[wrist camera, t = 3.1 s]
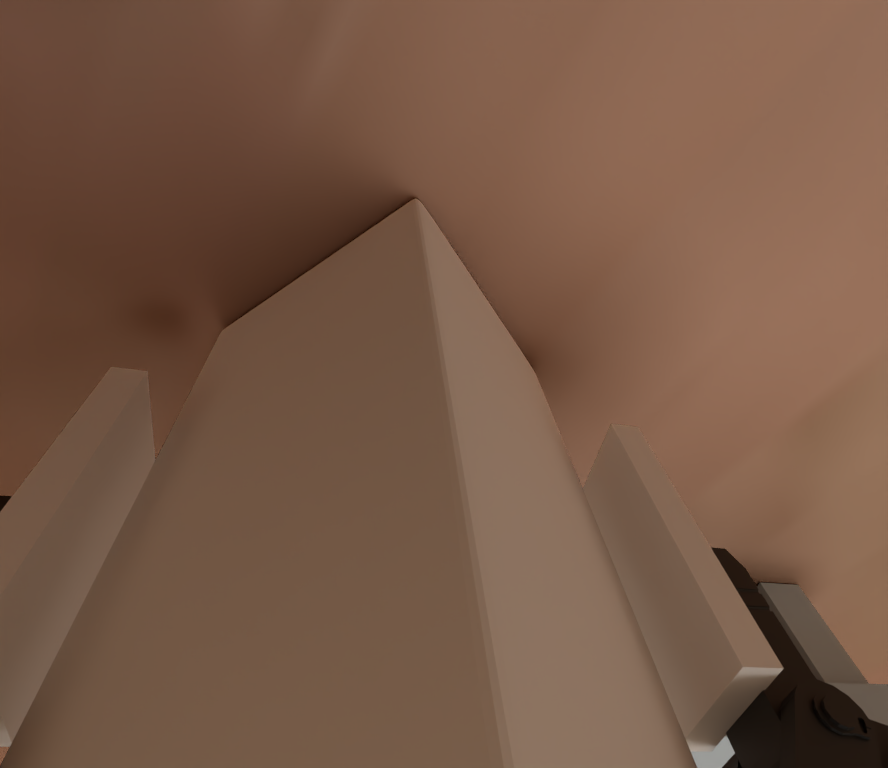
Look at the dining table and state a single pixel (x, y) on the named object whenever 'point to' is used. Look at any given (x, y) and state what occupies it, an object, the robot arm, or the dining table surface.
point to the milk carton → (359, 555)
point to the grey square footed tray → (811, 661)
